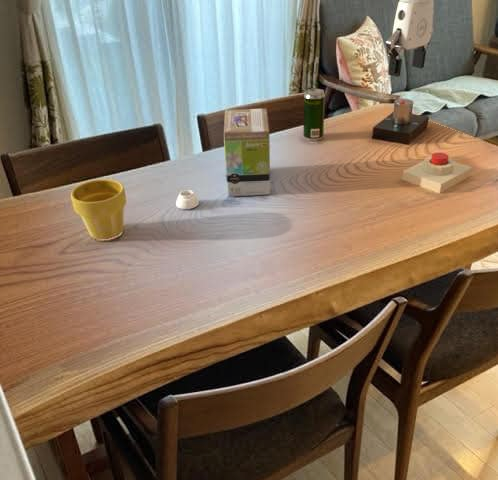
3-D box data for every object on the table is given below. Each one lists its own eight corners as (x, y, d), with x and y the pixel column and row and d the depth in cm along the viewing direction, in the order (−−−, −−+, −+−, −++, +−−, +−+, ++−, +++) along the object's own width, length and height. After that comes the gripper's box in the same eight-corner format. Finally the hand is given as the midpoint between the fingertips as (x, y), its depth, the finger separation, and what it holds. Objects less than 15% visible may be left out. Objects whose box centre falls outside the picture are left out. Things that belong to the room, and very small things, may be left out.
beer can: (326, 139, 144) (328, 93, 137) (307, 142, 144) (307, 96, 136) (319, 132, 148) (320, 87, 141) (300, 135, 148) (301, 89, 140)
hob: (392, 121, 152) (394, 110, 150) (427, 127, 148) (429, 115, 146) (371, 138, 144) (373, 126, 142) (407, 145, 139) (409, 133, 137)
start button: (436, 158, 123) (437, 151, 122) (450, 163, 121) (451, 155, 120) (427, 163, 121) (428, 155, 120) (441, 167, 119) (442, 160, 118)
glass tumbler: (396, 117, 146) (399, 96, 143) (413, 120, 144) (416, 98, 140) (389, 123, 143) (391, 101, 140) (406, 126, 141) (409, 104, 138)
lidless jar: (176, 201, 121) (176, 211, 117) (175, 188, 119) (174, 199, 115) (199, 199, 121) (199, 209, 117) (197, 187, 119) (197, 197, 116)
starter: (432, 164, 129) (435, 147, 127) (470, 176, 123) (474, 159, 121) (401, 180, 124) (404, 163, 121) (439, 193, 118) (442, 176, 115)
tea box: (271, 195, 121) (270, 129, 112) (227, 197, 121) (221, 132, 112) (268, 167, 133) (266, 106, 123) (228, 169, 133) (223, 108, 123)
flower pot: (142, 231, 111) (134, 187, 105) (100, 252, 106) (88, 207, 100) (114, 216, 117) (104, 173, 111) (72, 235, 112) (59, 191, 105)
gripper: (407, 0, 118) (396, 82, 129) (452, -12, 126) (438, 66, 137) (379, -4, 122) (372, 76, 133) (425, -15, 131) (414, 61, 142)
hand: (405, 71), depth 135 cm, fingers open, 9 cm apart
